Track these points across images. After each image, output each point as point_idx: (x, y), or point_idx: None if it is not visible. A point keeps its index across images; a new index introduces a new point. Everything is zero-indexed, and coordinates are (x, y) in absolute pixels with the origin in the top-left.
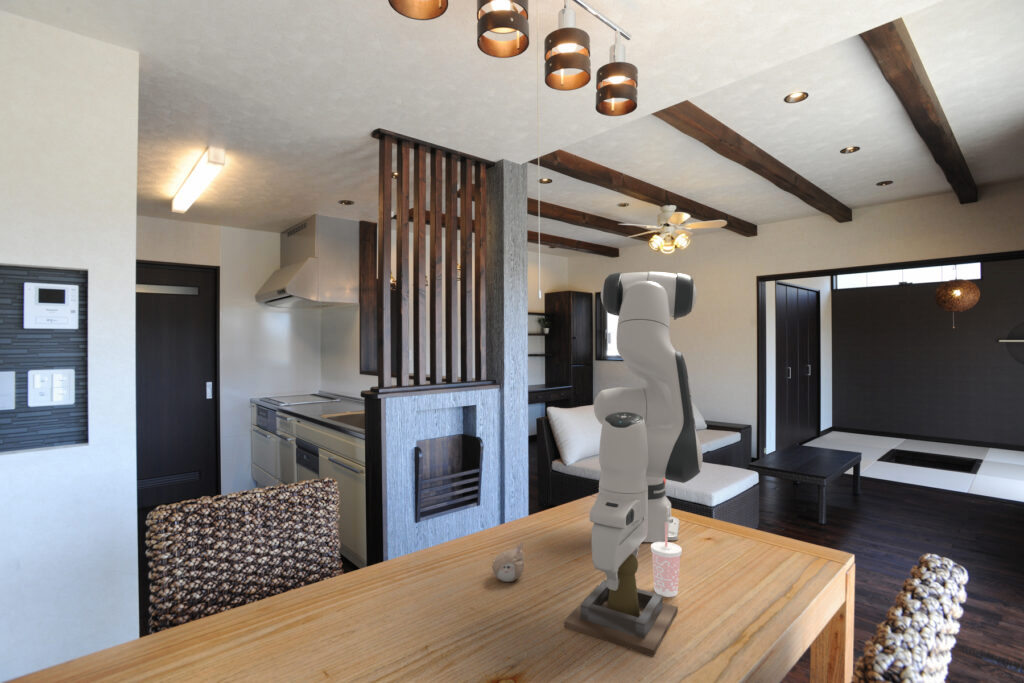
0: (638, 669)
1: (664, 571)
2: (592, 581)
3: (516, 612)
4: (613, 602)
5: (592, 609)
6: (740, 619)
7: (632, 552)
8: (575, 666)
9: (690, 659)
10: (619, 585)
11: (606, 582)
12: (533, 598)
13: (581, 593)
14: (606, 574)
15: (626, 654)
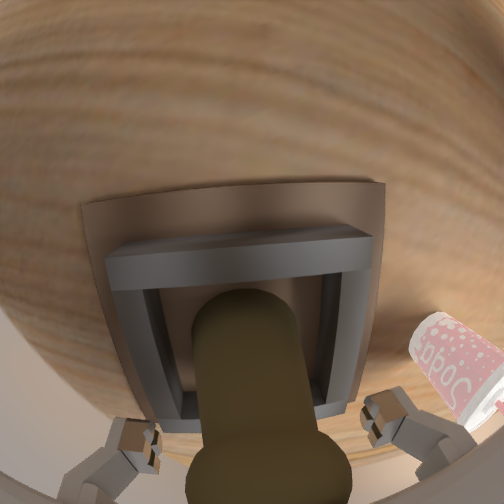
0: (96, 399)
1: (441, 384)
2: (412, 145)
3: (83, 48)
4: (195, 357)
5: (116, 305)
6: (363, 444)
7: (419, 444)
8: (15, 307)
9: (192, 446)
10: (160, 448)
11: (354, 256)
12: (186, 26)
13: (324, 139)
14: (82, 466)
15: (112, 377)
